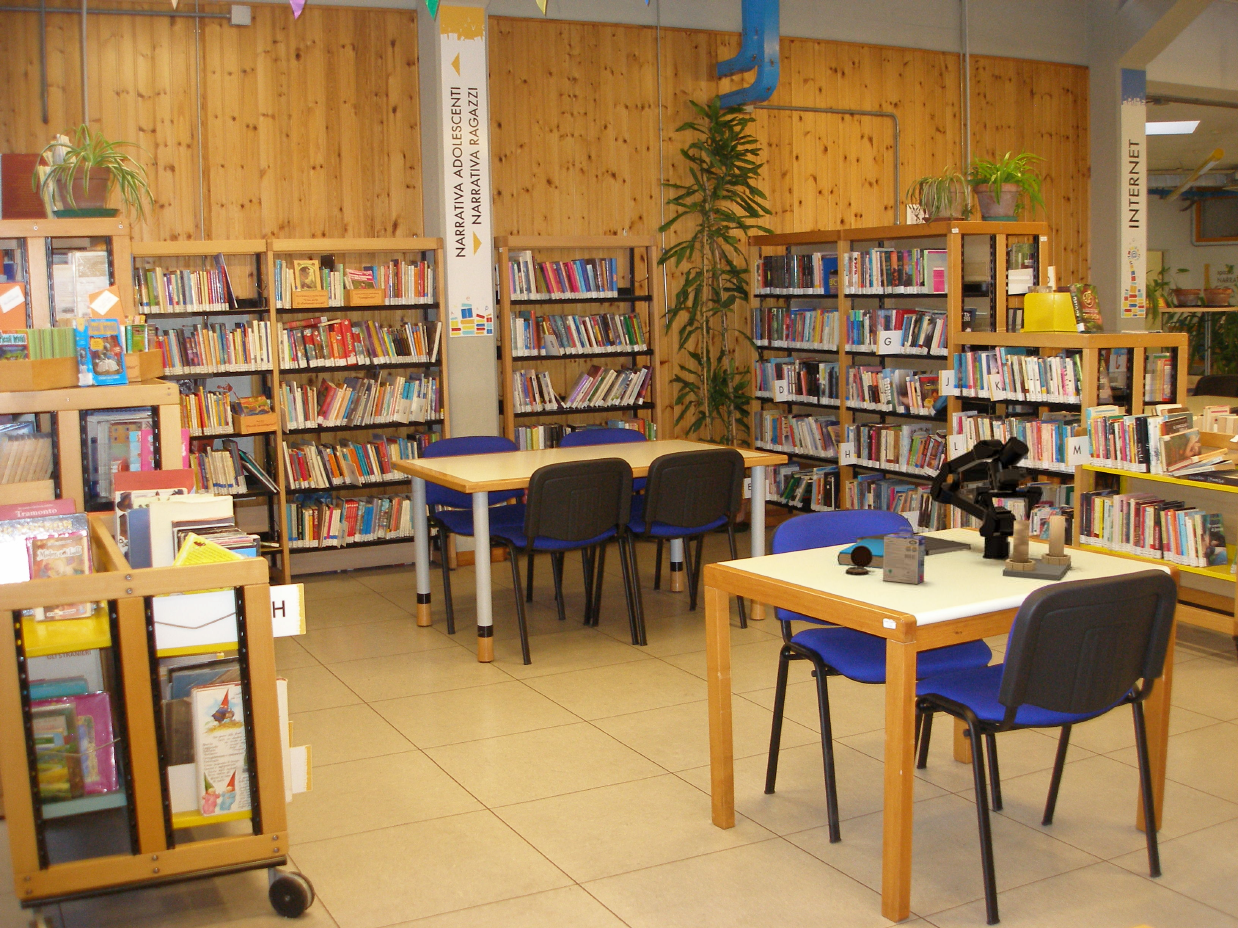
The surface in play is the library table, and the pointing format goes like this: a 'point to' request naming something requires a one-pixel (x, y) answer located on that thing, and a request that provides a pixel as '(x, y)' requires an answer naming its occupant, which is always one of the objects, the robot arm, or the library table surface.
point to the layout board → (1040, 571)
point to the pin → (1021, 541)
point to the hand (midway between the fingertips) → (1012, 518)
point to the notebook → (930, 544)
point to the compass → (860, 560)
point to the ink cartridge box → (904, 557)
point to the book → (872, 544)
